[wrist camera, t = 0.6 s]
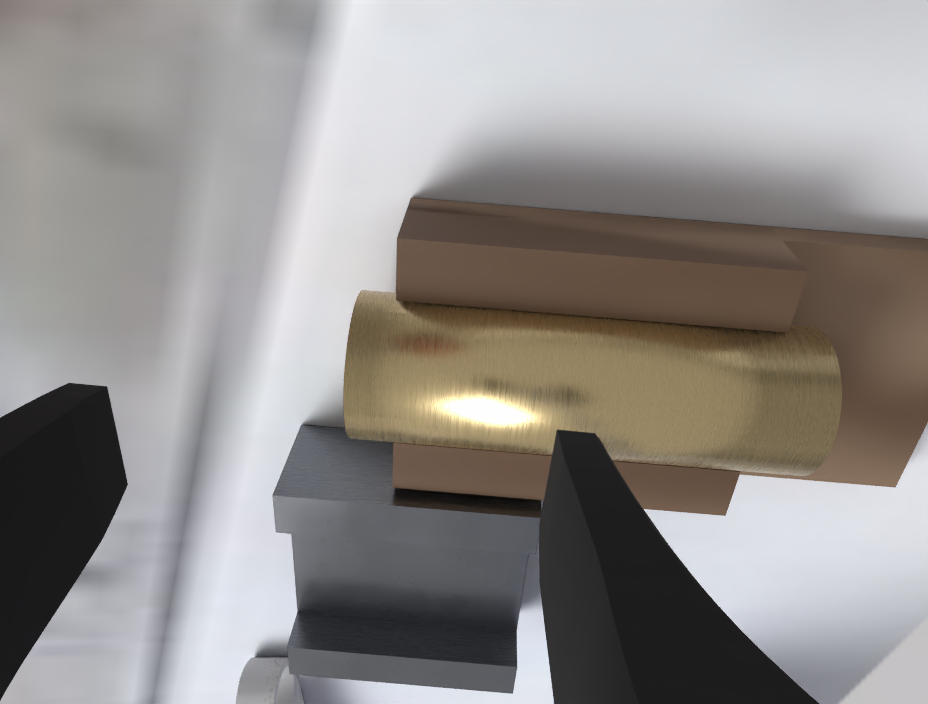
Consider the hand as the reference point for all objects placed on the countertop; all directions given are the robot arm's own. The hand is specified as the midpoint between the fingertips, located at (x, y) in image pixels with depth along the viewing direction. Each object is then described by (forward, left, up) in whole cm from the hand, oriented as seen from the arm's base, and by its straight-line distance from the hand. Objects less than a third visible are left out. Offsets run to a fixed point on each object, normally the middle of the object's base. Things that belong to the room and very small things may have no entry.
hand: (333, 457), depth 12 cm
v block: (-12, -1, -10) cm, 16 cm away
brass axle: (-3, -5, -7) cm, 9 cm away
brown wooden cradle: (-3, -7, -10) cm, 13 cm away
